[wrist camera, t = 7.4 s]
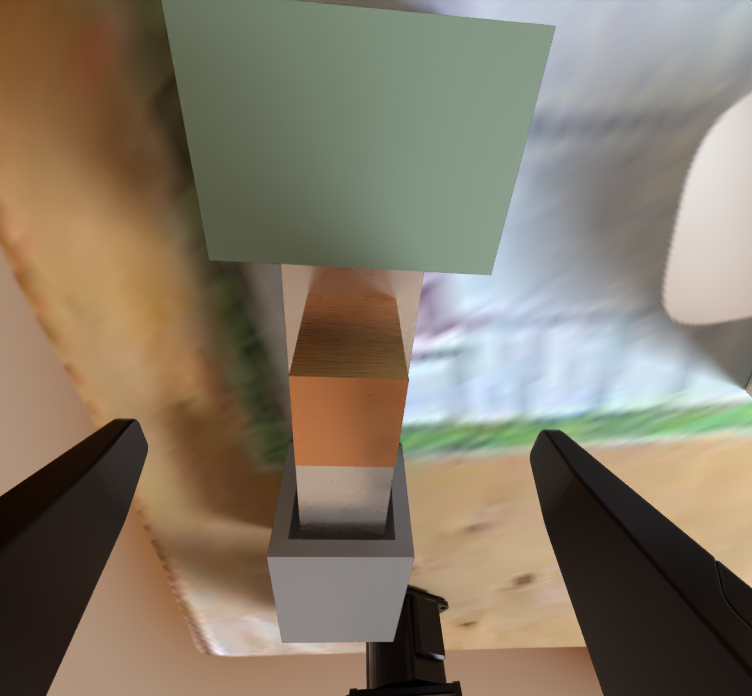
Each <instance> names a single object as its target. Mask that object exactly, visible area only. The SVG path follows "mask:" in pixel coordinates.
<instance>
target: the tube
mask: <svg viewBox="0 0 752 696" xmlns="http://www.w3.org/2000/svg"><path fill="white" fill-rule="evenodd" d="M281 273H282V286H283V300H284V314H285V327H286V341H287V355H288V369H289V387H290V401H291V414H292V428H293V442H294V455H295V466H296V478H297V492H298V506H299V520H300V533H301V540H383V537H384V530H385V524H386V517H387V510H388V504H389V497H390V491H391V484H392V478H393V471H394V467H395V466H396V459H397V453H398V446H399V440H400V433H401V427H402V421H403V414H404V408H405V401H406V395H407V388H408V382H409V378H408V373H409V367H410V360H411V354H412V347H413V341H414V334H415V327H416V321H417V314H418V308H419V301H420V295H421V288H422V282H423V275H424V272H422V271H403V270H384V269H365V268H346V267H327V266H308V265H289V264H281Z"/></svg>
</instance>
